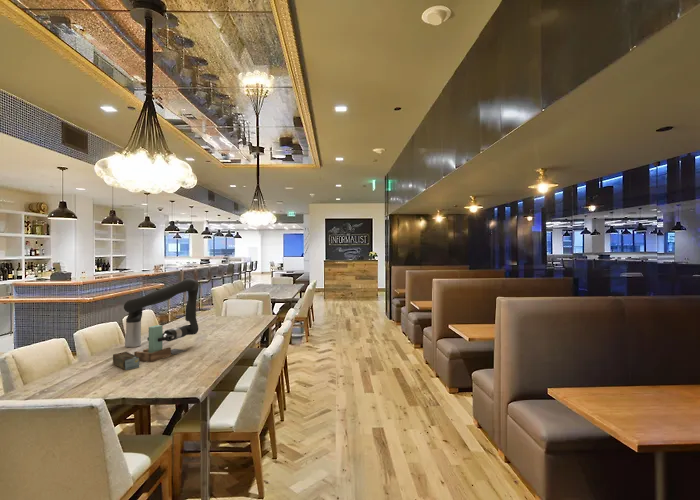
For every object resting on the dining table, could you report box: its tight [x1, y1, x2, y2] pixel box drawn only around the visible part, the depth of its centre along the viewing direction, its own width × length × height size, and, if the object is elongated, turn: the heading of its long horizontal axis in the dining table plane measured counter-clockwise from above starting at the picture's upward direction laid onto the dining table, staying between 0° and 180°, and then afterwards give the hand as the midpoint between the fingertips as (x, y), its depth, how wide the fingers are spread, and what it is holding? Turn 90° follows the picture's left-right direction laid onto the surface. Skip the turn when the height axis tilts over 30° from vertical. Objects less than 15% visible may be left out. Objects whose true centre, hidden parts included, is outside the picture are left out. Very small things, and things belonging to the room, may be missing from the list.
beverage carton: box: [112, 351, 140, 371], centre depth 223 cm, size 8×19×7 cm, turn 50°
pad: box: [171, 348, 188, 356], centre depth 254 cm, size 11×11×1 cm
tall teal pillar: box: [148, 324, 164, 353], centre depth 239 cm, size 4×7×20 cm, turn 161°
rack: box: [133, 347, 172, 363], centre depth 240 cm, size 14×16×5 cm
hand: (153, 339), depth 237 cm, fingers open, 8 cm apart
